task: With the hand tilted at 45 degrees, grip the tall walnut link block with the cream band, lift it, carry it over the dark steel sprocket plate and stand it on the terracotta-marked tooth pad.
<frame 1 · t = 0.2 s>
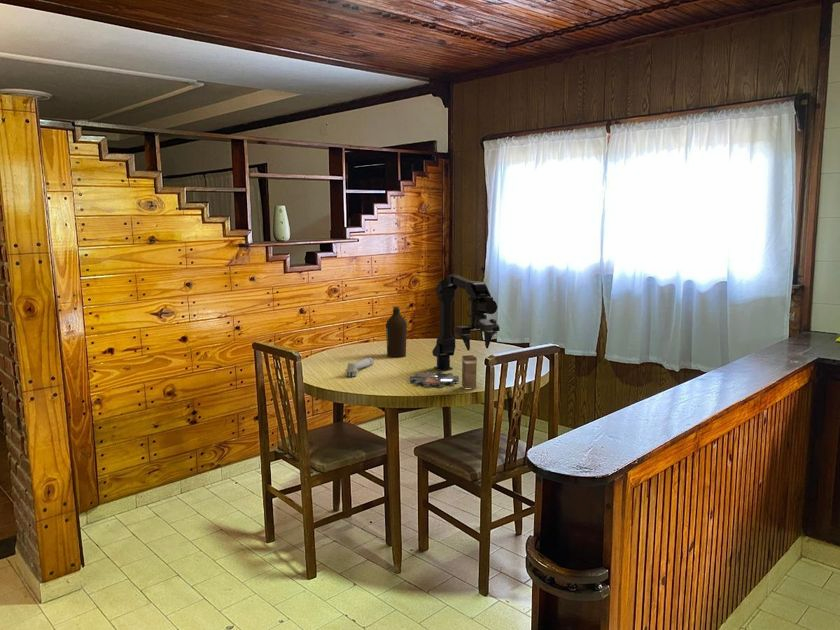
hand: (477, 349, 260), 14 cm above the table, tool pointing down, fingers open, 9 cm apart
olive oil: (396, 356, 313), on the table
sprocket plate: (434, 381, 264), on the table
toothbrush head: (359, 371, 282), on the table
link block: (468, 387, 254), on the table
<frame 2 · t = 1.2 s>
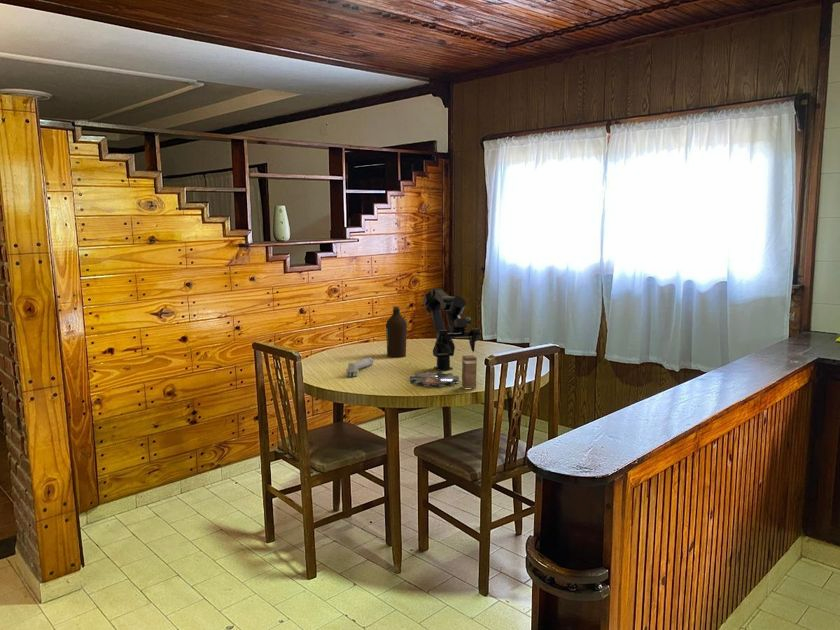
hand: (463, 352, 259), 13 cm above the table, tool tilted 45°, fingers open, 9 cm apart
nothing on the table moved.
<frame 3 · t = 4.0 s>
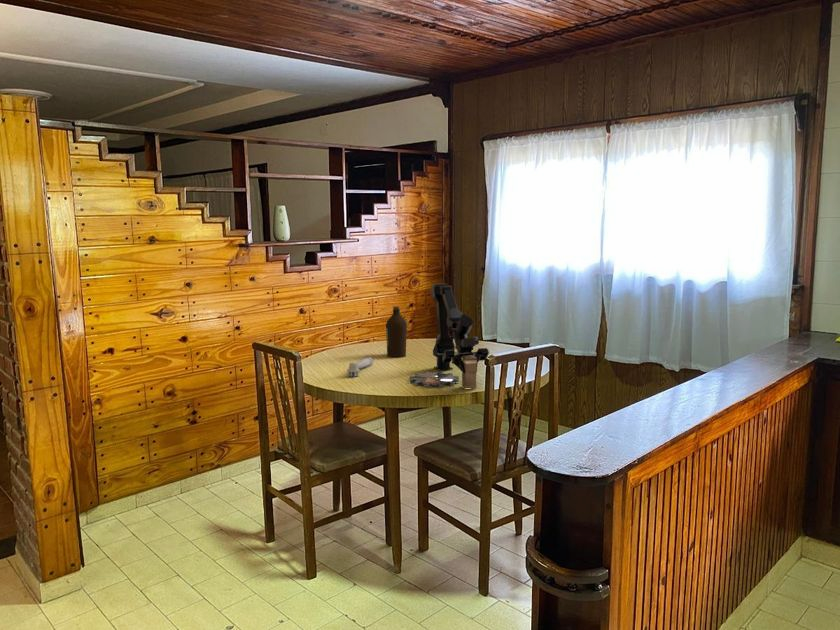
hand: (470, 372, 252), 7 cm above the table, tool tilted 45°, fingers closed on link block, 4 cm apart
link block: (469, 387, 254), on the table, touching gripper
everything else where it was.
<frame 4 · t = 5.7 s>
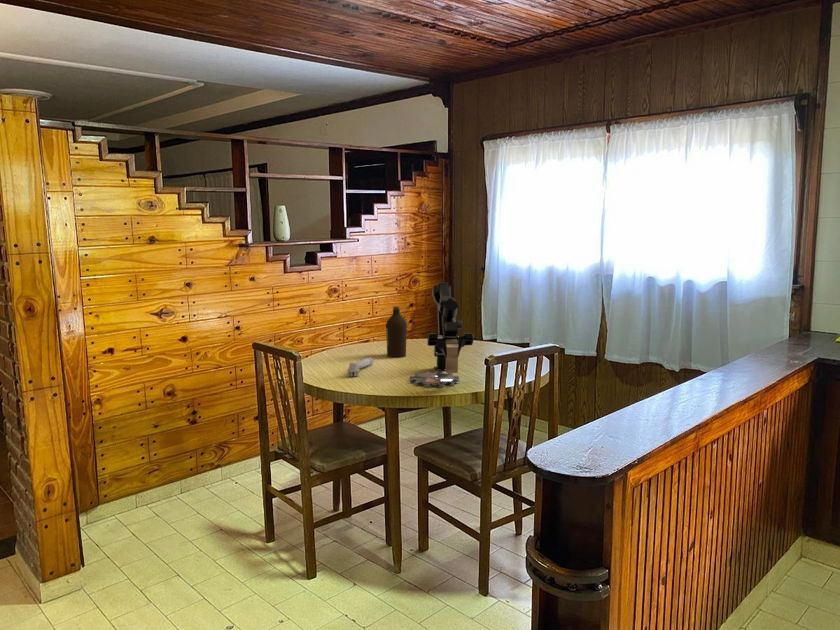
hand: (452, 356, 252), 13 cm above the table, tool tilted 45°, fingers closed on link block, 4 cm apart
link block: (451, 371, 255), point 6 cm above the table, touching gripper
everything else where it was.
when the fingers open (10 cm above the table, at t = 7.4 s): link block drops 1 cm, resting on sprocket plate.
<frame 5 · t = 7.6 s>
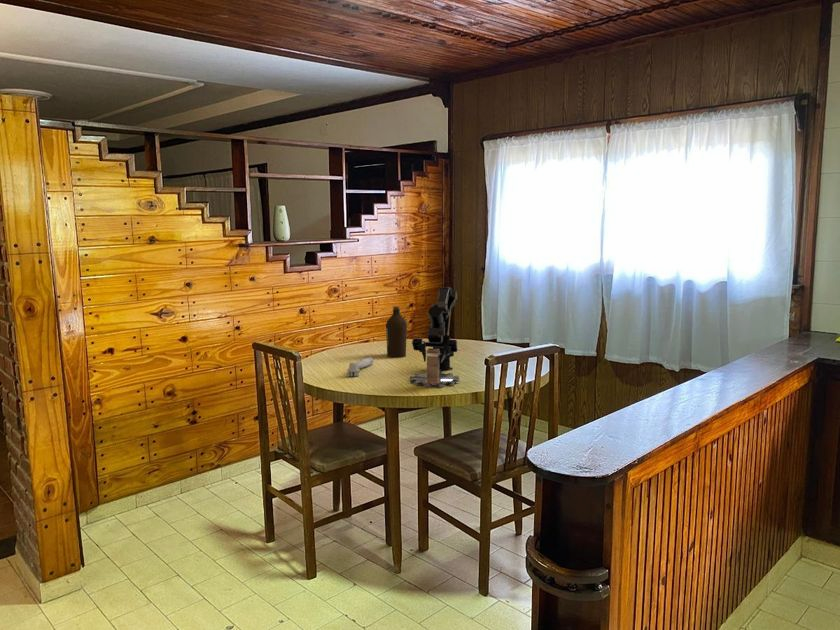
hand: (432, 362, 256), 10 cm above the table, tool tilted 45°, fingers open, 6 cm apart
link block: (433, 380, 259), point 2 cm above the table, touching sprocket plate
everything else where it was.
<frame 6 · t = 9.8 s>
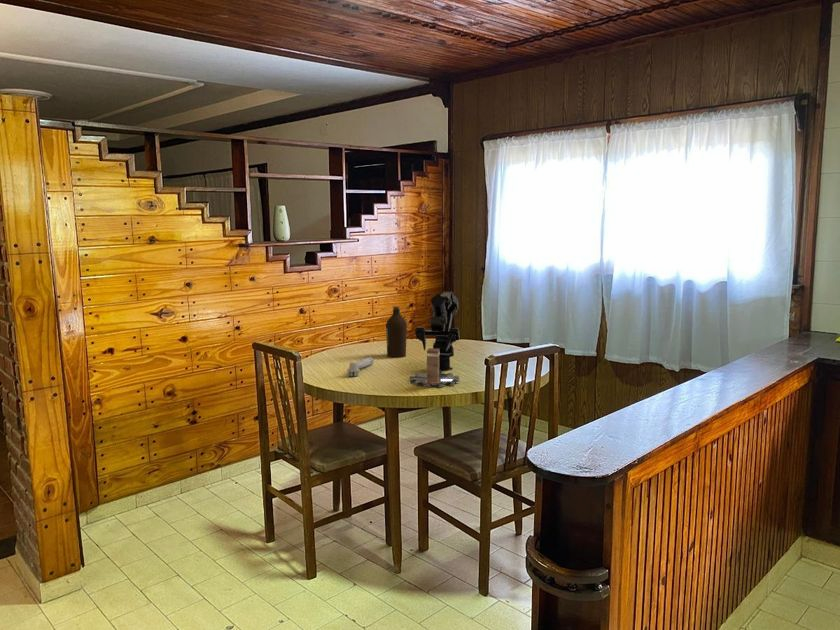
hand: (435, 350, 261), 14 cm above the table, tool tilted 45°, fingers open, 9 cm apart
nothing on the table moved.
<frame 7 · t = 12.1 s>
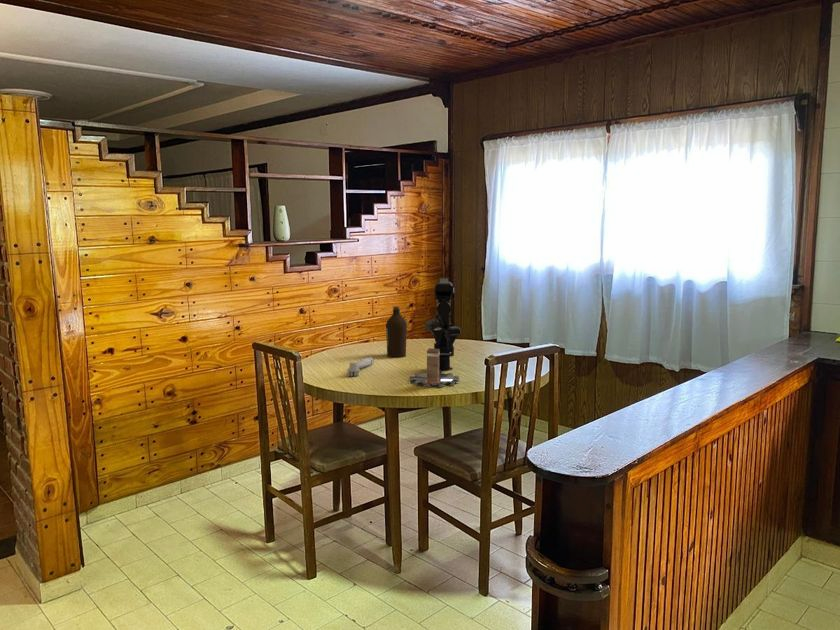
hand: (443, 347, 269), 13 cm above the table, tool pointing down, fingers open, 9 cm apart
nothing on the table moved.
at the end: link block 0.0 cm from the target spot on the sprocket plate, point 1.8 cm above the sprocket plate's base; link block tilted 0°; the gripper is holding nothing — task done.
